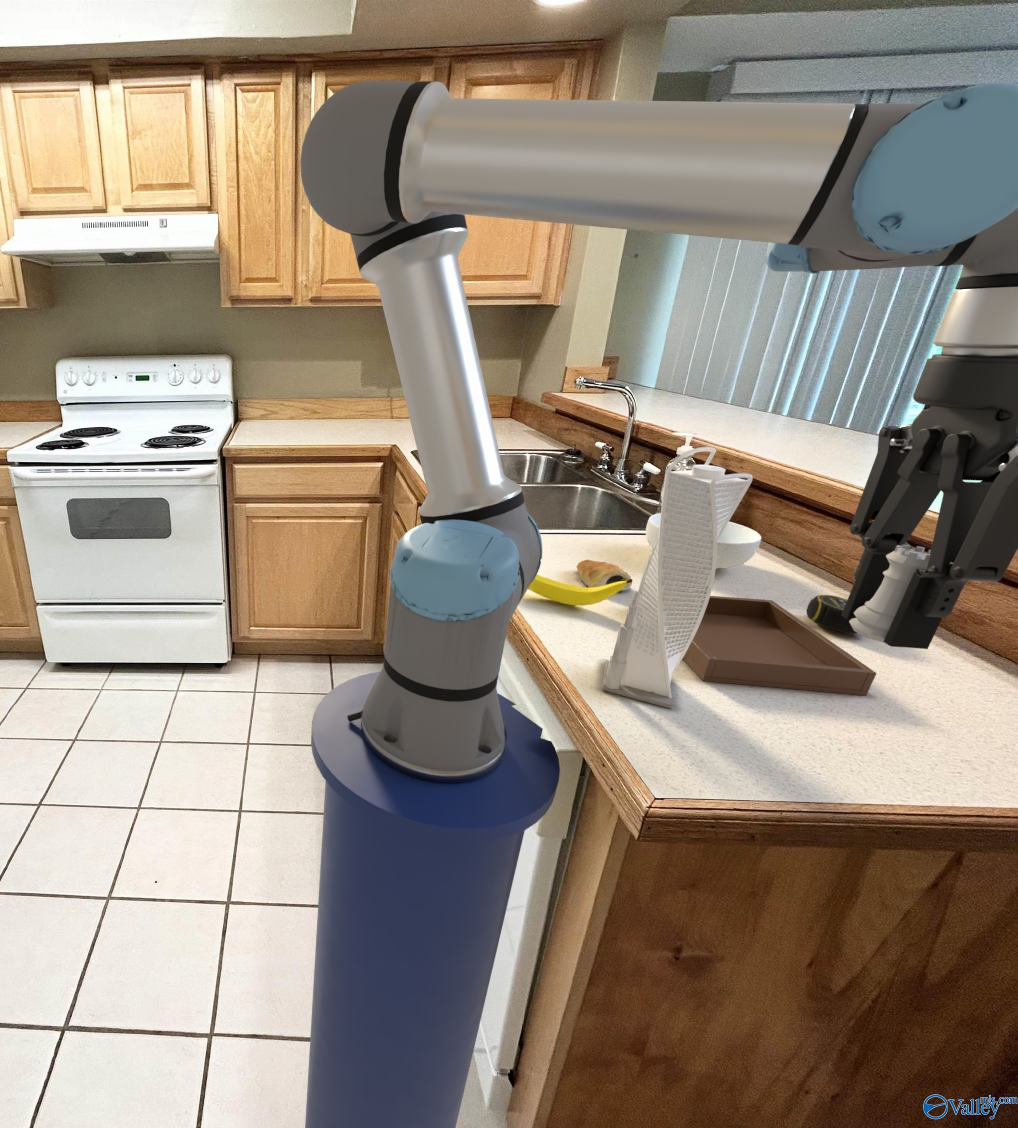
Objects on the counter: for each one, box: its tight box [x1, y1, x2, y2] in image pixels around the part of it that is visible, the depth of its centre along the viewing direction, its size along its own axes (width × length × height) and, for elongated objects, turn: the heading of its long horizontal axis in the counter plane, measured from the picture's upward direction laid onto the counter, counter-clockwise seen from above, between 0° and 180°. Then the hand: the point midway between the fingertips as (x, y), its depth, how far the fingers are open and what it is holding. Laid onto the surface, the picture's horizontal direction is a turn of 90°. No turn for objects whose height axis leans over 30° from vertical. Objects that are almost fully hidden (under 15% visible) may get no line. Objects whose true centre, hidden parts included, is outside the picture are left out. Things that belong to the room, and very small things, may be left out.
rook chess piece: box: [849, 544, 931, 643], centre depth 51 cm, size 4×4×8 cm
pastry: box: [576, 559, 633, 592], centre depth 98 cm, size 9×7×4 cm
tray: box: [682, 595, 877, 696], centre depth 79 cm, size 18×20×3 cm
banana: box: [527, 574, 633, 607], centre depth 91 cm, size 3×19×6 cm, turn 52°
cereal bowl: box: [645, 512, 762, 570], centre depth 106 cm, size 17×17×7 cm
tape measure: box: [806, 594, 860, 635], centre depth 84 cm, size 7×7×4 cm
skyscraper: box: [601, 446, 754, 709], centre depth 66 cm, size 8×8×28 cm
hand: (882, 630), depth 52 cm, fingers closed on rook chess piece, 4 cm apart
